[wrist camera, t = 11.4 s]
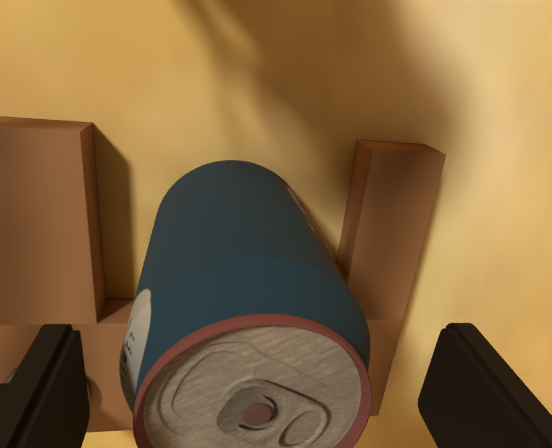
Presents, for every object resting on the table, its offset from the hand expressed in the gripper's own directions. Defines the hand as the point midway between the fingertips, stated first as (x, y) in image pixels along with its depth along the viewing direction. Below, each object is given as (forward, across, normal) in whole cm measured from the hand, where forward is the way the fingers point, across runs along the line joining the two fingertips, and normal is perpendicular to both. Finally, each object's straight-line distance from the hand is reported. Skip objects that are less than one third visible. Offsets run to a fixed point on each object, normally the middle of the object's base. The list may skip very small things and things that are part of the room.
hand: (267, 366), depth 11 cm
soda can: (+11, +1, +1) cm, 11 cm away
